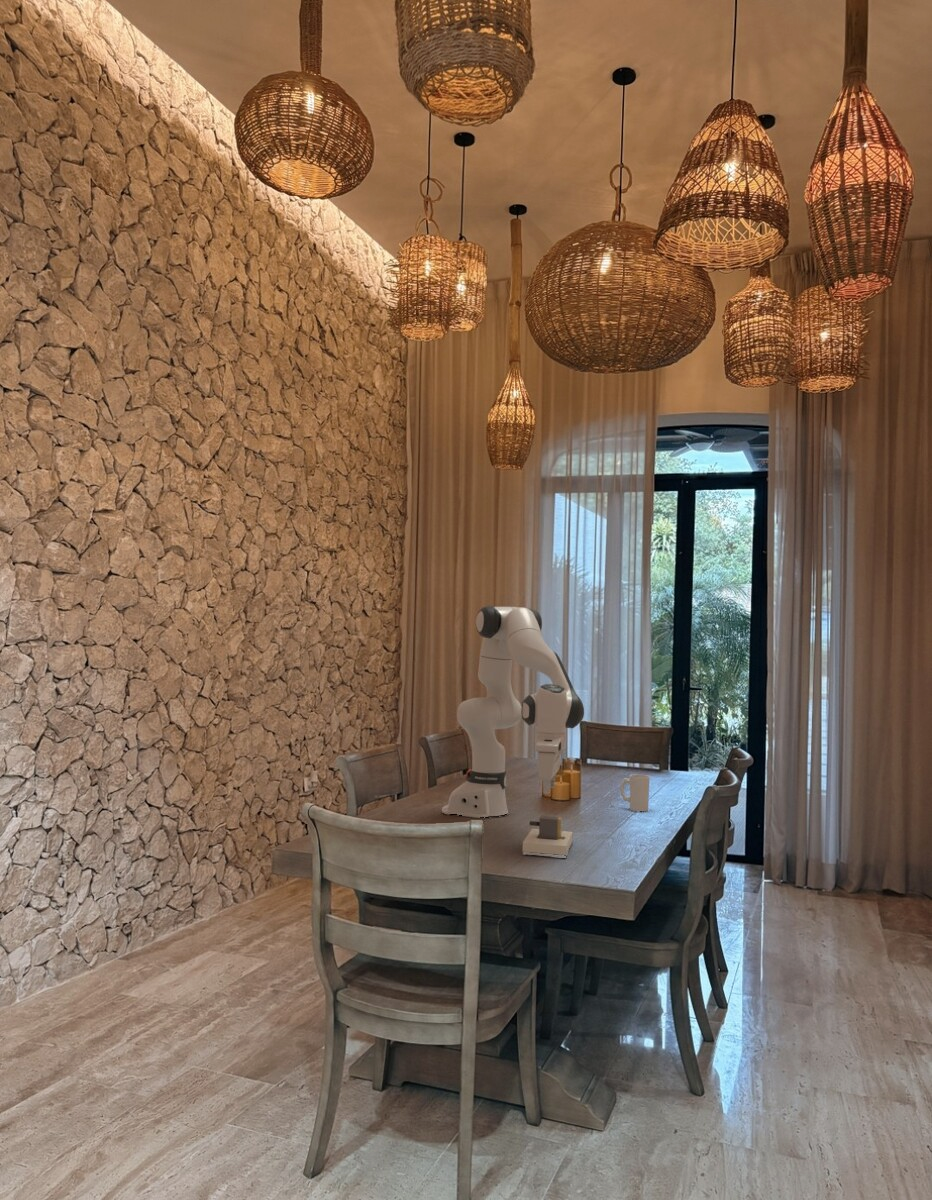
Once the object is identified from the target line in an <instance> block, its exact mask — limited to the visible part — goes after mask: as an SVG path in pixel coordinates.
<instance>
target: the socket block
mask: <svg viewBox="0 0 932 1200" xmlns="http://www.w3.org/2000/svg"><path fill="white" fill-rule="evenodd" d="M573 834H574V832H573V831H568V830H562V834H561V839H558V840H551V839H539V828H531V829H530V830H529V832H528V834H527V835H526V836H525V838H524V840H523V841H522V853H523V852H530V853H540V854H553V855H564V856H566V854H567V852H568V850H569V848H570V846H571V843H572V844H573ZM571 847H572V846H571ZM570 849H571V848H570ZM569 851H570V850H569Z"/></svg>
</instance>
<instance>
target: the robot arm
mask: <svg viewBox="0 0 932 1200" xmlns="http://www.w3.org/2000/svg"><path fill="white" fill-rule="evenodd" d="M475 619H476V620H475V625H476V626H475V628H476V632H477V633H478V635H479V636H481V637H483V638H482V643H481V646H480V653H479V660H478V661H479V662H478V670H477V671H478V672H477V678H478V680H479V682H481V684H483V685H484V686H485V688H486V696H485V697H472V698H470V699H466V700H462V702H460V704H459V705H458V707H457V709H456V719H457V722H458V724H459V726H460V727H461V728H462V729H464V730H465V732H466V733H467V735H468V737H469V740H470V745H471V754H472V755H471V756H472V759H471V760H472V761H471V762H472V763H471V764H472V765H471V769H468V770H467V771H466V772H465V773H466V774H465V780H466V781H464V782H463V783H462V784H460V785H459V786H458V787H456V788H455V789H454V790H453V791H452V792H451V793H450V795H449V798H448V804H446V805H444V806H442V808H441V813H442V814H443V813H444V814H446V815H450V814H457V815H456V816H459V815H462V816H461V817H468V818H475V819H481V818H480V817H484V818H483V819H486V818H485V817H488V816H498V815H504V814H507V813H508V814H509V810H508V805H507V800H506V787H507V771H506V748H505V745H503V744H502V743H501V742H500V741H498V739H497V737H496V731H495V730H504V729H505V730H507V729H509V728H512V727H514V726H517V725H518V724H519V723H520V722H521V720H523V721H524V722H525V723H526V725H528V726H531V727H536V729H535V737H534V740H535V741H534V747H535V752H537V775H538V778H539V780H542V787H543V790H542V792H543V794H544V795H549V794H550V793H551V789H554V787H555V780H556V776H557V775H556V774H557V773H558V771H559V770H560V767H561V766H560V765H561V755H562V750H566V749H567V732H568V731H567V729H574V728H576V727H577V726H578V725H580V724H581V722H582V720H583V719H584V717H585V707H584V704H583V701H582V700H581V698H580V696H579V695H578V694H577V692H576V690H575V689H574V686H573V684H572V681H571V679H570V677H569V675H568V673H567V670H566V668H565V666H564V664H563V662H562V660H561V658H560V656H559V655H558V653H557V652H556V651H554V650H552V648H550V646H548V645H547V643H546V641H545V639H544V637H543V634H542V630H543V629H542V627H543V621H542V620H543V619H542V616H541V615H540V613H539V611H537V610H535V609H532V608H528V607H523V606H522V607H517V606H511V605H510V606H493V605H488V606H483V607H482V608H481V609H479V611H478V612H477V615H476V618H475ZM513 661H514V662H516V663H517V664H518V665H520V666H522V667H523V668H527V669H531V670H534V671H536V672H539V673H541V674H544V675H545V676H547V677H548V678H549V679H550V681H551V683H552V684H550V683H549V684H548V683H547V684H546V683H545V684H541V685H540V686H539V687H538V691H536V692H535V693H533V694H528V695H527V696H526V697H525V698H524V699H523V701H522V702H521V703H520V701H519V700H518V699H517V698H516V697H515V695H514V691H513V687H512V681H511V680H512V667H513V666H512V665H513ZM508 814H507V815H508Z"/></svg>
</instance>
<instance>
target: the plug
mask: <svg viewBox="0 0 932 1200" xmlns="http://www.w3.org/2000/svg"><path fill="white" fill-rule="evenodd" d="M529 826H535V827H539V828H538V829H539V839H551V840H558V839H561V834H562V831H563V827H562V826H563V817H559V816H552V815H541V816H540V817H539V821H537V820H536V821H535V820H530V821H529Z"/></svg>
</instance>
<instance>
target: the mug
mask: <svg viewBox="0 0 932 1200" xmlns="http://www.w3.org/2000/svg"><path fill="white" fill-rule="evenodd" d="M627 783H628V784H629V796H627V795H626V794H625V792H624V788H625V787H624V786H625V784H627ZM649 793H650V775H647V774H635V773H634V774H630V775H629V778H627V777H624V778H623V779H622V782H621V784H620V794H621V798H622V800H623V801H624V802H628V803H629V810H630V811H631V810H633V811H632V812H635V811H642V812H641V813H644V812H643V811H647V812H648V811H649V797H650V794H649Z"/></svg>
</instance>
